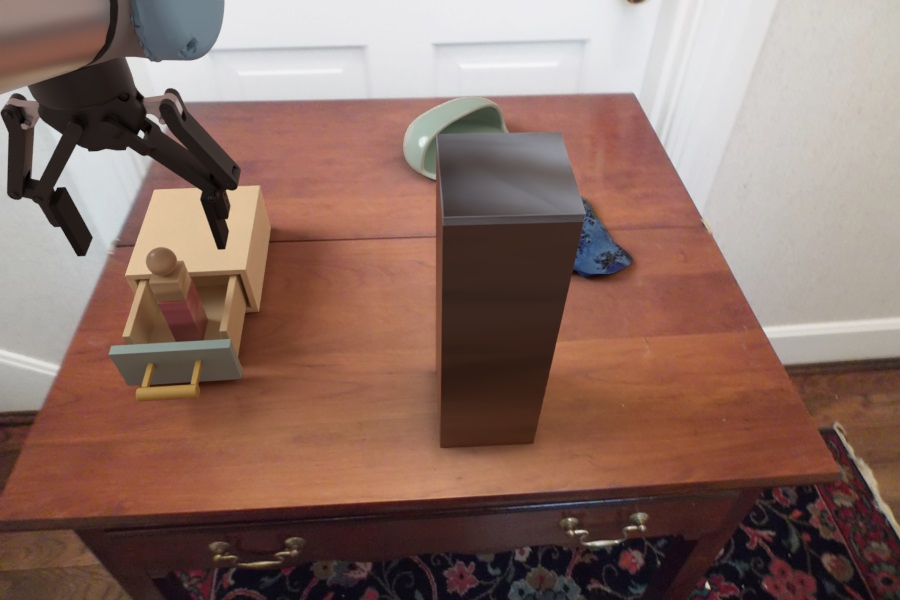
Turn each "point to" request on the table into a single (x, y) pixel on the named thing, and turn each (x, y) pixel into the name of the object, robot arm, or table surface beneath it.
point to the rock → (598, 248)
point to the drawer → (177, 362)
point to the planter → (449, 129)
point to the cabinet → (206, 238)
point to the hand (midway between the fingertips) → (155, 243)
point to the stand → (500, 279)
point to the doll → (176, 295)
